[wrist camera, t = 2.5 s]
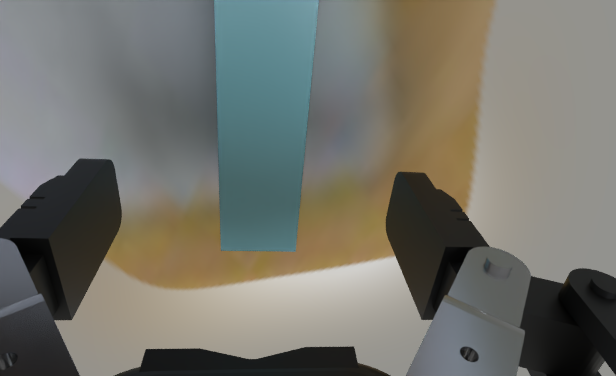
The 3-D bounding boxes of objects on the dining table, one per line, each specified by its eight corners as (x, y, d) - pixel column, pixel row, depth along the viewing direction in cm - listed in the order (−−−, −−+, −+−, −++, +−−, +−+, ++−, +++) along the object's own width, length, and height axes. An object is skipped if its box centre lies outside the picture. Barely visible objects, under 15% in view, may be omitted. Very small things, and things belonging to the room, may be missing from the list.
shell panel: (230, -270, 12) (202, -432, 7) (318, -257, 12) (356, -401, 7) (233, 165, 19) (220, 250, 14) (288, 167, 19) (295, 251, 14)
